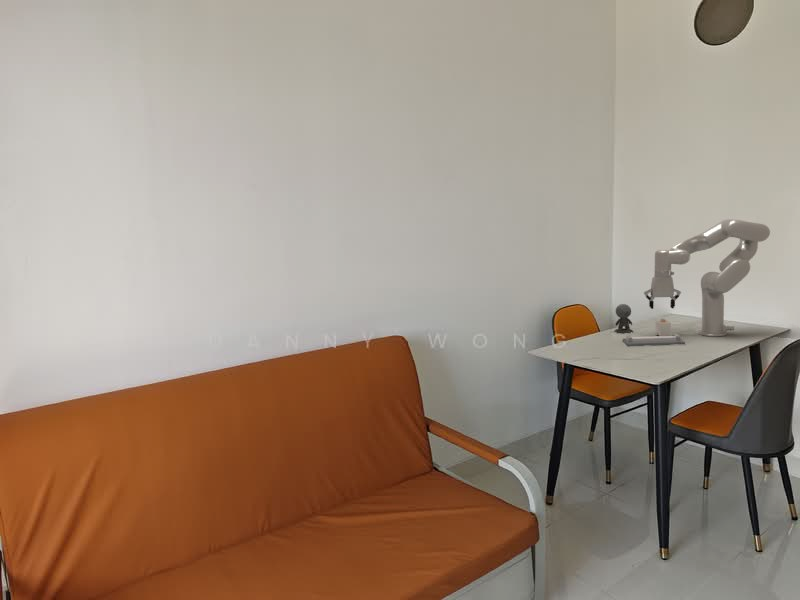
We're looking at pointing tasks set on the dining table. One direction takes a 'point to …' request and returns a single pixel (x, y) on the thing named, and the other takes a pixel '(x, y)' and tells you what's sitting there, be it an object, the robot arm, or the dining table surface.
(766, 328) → the dining table surface
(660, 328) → the block
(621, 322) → the figurine
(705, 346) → the dining table surface
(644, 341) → the rail plate
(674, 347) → the dining table surface
